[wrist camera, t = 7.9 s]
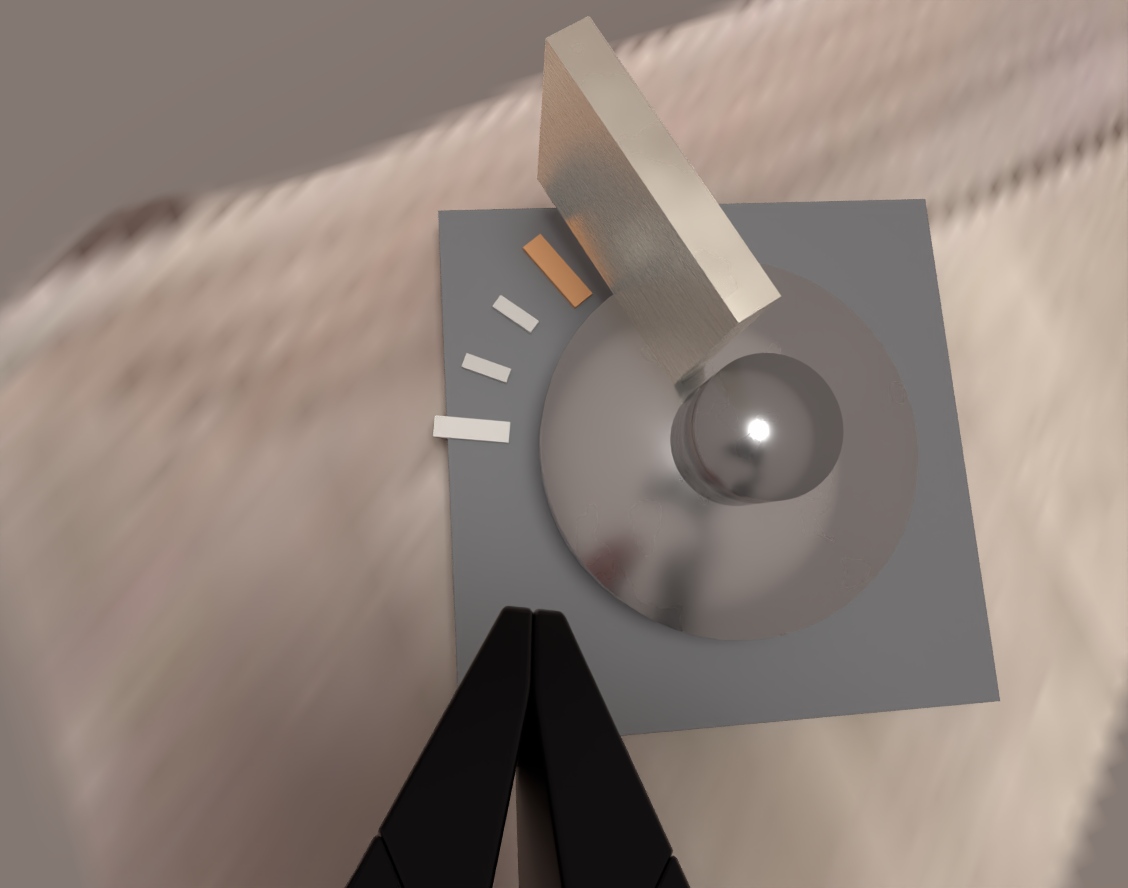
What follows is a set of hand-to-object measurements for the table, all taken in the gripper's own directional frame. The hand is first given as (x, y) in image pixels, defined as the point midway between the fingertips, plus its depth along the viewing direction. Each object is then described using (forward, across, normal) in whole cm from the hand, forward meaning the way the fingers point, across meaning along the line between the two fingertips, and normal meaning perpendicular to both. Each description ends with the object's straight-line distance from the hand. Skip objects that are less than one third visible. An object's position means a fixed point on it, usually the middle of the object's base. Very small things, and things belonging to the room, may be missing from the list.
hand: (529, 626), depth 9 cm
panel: (+13, -6, +6) cm, 16 cm away
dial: (+13, -5, +3) cm, 14 cm away
